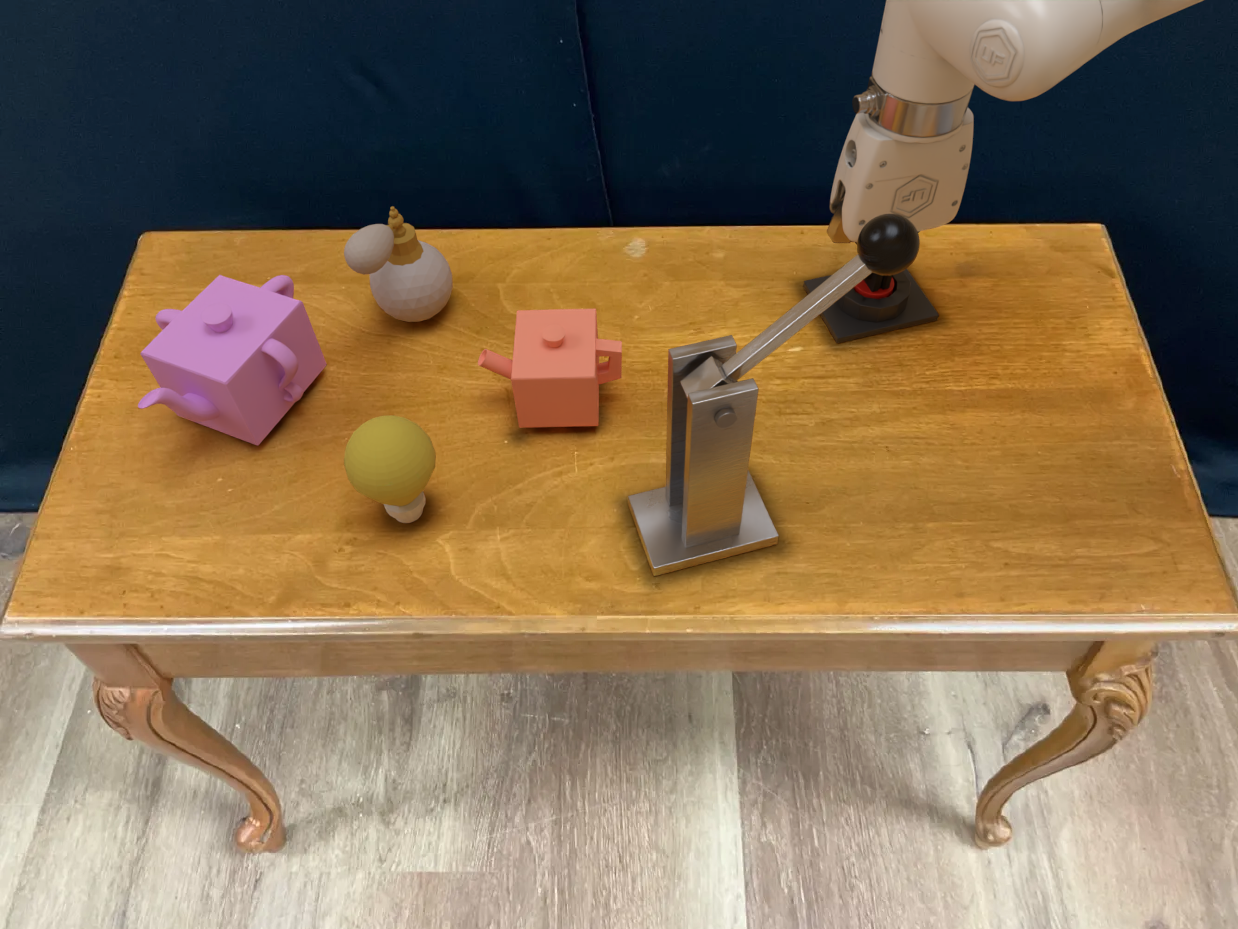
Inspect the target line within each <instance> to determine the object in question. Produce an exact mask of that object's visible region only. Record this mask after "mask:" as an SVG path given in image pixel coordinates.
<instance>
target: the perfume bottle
mask: <svg viewBox="0 0 1238 929" xmlns="http://www.w3.org/2000/svg"><path fill="white" fill-rule="evenodd" d="M388 215H389V217H388V220H387V224H383V223H375V224H369V225H367V226H364V227H361V228H360V229H359V230H357V231H355V232H354V233H352V235H351V236H350V237H349V238H348V239H347V241H346V243H345V246H344V249H343V256H344V260H345V263H346V264H347V266H348V267H349V268H350V269H351V270H352V271H353V272H356V273H357V274H361V275H369V287H370V291H371V294H372V297H373V298H374V300H375V302H376V303H377V305H378V307H379V308H380V309H381V310H383V311H384V312H385V313H386V314H387V315H388V316H390V317H393V318H394V319H396V320H400V321H404V322H406V323H407V322H408V323H414V322H415V323H416V322H417V323H419V322H422V321H426V320H430V319H431V318H433V317H434V316H436V315H437V314H438V313H440V312H441V311H442V310H443V309H444V308H445V307H446V305H448V302H449V300H450V298H451V295H452V291H453V286H454V285H453V273H452V270H451V267H450V264H449V262H448V260H447V259H446V257H445V256H444V255H443V253H441V251H440V250H438V248H437V247H435V246H433V245H431V244H429V243H428V242H425V241H422V240H419V239H418V236H417V232H416V229H415V226H413V225H412V224H410V223H407V222H404V217H403V215H401V213H399V211H398V209H397V208H395V206H390V209H389V213H388Z"/></svg>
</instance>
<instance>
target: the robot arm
mask: <svg viewBox="0 0 1238 929" xmlns="http://www.w3.org/2000/svg"><path fill="white" fill-rule="evenodd" d="M1203 1H1205V0H885V4H884V5H885V6H884V10H883V15H882V20H881V25H880V31H879V36H878V41H877V45H876V51H875V55H874V61H873V65H872V71H871V75H870V76H869V77H868V83H867V87H866V90H865V91H863V92H862V93H860V94H856V95H854V96H853V97H852V100H851V101H852V103H851V104H852V106H851V107H852V110H853V112H854V114H855V117H854V118H853V121H852V123H851V125H850V128H849V130H848V133H847V136H846V139H845V141H844V144H843V146H842V150H841V153H840V156H839V159H838V163H837V165H836V166H837V167H836V171H835V174H834V178H833V183H832V186H831V187H832V188H831V193H830V199H829V211H830V213H832V214H833V215H832V217H831V220H830V221H829V224H828V227H827V229H826V234H827V236H828V237H829V238H830V240H831V242H832V243H833V244H851V243H855V245H857V241H858V237H859V234H860V232H861V230H862V229H863V227H864V226H865V225H866V224H867V223H868V222H869V221H870V220H871V219H873V218H875V217H877V216H879V215H882V214H898V215H901V216H903V217H905V218H907V219H908V220H910V221H911V222H912V223H913V225H914V226H915V227H916V229H917V231H918V234H919V233H920V232H922V231H926V230H932V229H935V228H939V227H943V226H945V225H947V224H949V223H950V222H951V221H953V220H954V219H955V217H956V216H957V214H958V211H959V209H960V206H961V203H962V200H963V196H964V192H965V188H966V184H967V179H968V174H969V169H970V164H971V159H972V151H973V141H974V139H973V138H974V125H975V124H974V121H975V120H974V118H975V116H974V113H973V111H972V110H971V109H970V108H969V104H970V101H971V97H972V94H973V90H974V88H975V86H976V87H977V88H979V89H980V90H981V91H983V92H984V93H986V94H988V95H990V96H992V97H995V98H996V99H999V100H1003V101H1007V102H1023V101H1027V100H1030V99H1033V98H1034V99H1035V98H1036V97H1038V96H1040V95H1043V94H1044V93H1045V92H1048V91H1049V90H1051V89H1052V88H1054V87H1055V86H1056V85H1057V84H1059V83H1061V82H1062V81H1063V80H1064V79H1066V78H1067V77H1068V76H1070V75H1071V74H1073V73H1074V72H1076V71H1077V70H1078V69H1080V68H1081V67H1082V66H1084V64H1086V63H1087V62H1089V61H1091V60H1092V59H1094V58H1095V57H1096V56H1097V55H1099V54H1100V53H1102V52H1103V51H1104V50H1106V49H1107V48H1109V47H1110V46H1112V45H1114V44H1115V43H1116V42H1118V41H1119V40H1120V39H1122V38H1125V36H1128V35H1129V34H1131V33H1133V32H1135V31H1137V30H1139V29H1141V28H1143V27H1145V26H1148V25H1150V24H1152V23H1154V22H1156V21H1159V20H1161V19H1163V18H1166V17H1169V16H1171V15H1172V14H1175V13H1177V12H1179V11H1182V10H1184V9H1187V8H1189V7H1191V6H1194V5H1196V4H1198V3H1202V2H1203ZM892 276H893V275H888V276H885V275H879V274H875V273H873V272H872V273H871V274H870V275H869V276H867V277H866V278H865V279H864V281H865V283H866V284H867V286H868V287H869V289H870V290H871V292H874V291H878V290H879V289H880V288H882V289H888V288H889V287H890V283H891V279H892Z"/></svg>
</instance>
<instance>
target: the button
mask: <svg viewBox="0 0 1238 929" xmlns="http://www.w3.org/2000/svg"><path fill="white" fill-rule="evenodd" d="M893 288H894V280H893V278H892V279H891V283H890V287H889V288H888V289H882V288H880V289H879V290H878V291H874V292H871V290H870V289H869V287H868V286H867V284H866V283H865V281H864V280H862V281H861V282H860V283H859V284H857V285H856V286H855V287H854V290H855V292H857V293H859V294H860V295H862V296H864V297H867V298H874V299H881V298H886V297H889V296H890V295H892V291H893Z"/></svg>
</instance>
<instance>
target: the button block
mask: <svg viewBox="0 0 1238 929" xmlns="http://www.w3.org/2000/svg"><path fill="white" fill-rule="evenodd" d="M832 275H833V274H829V275H825V276H820V277H815V278H811V279H806V280H804V281H803V284H802V287H803V289H804V290H805V292H806V294H807V295H808V294H810V293H811V292H812V291H813V290H814V289H816V288H817V287H818V286H819V285H821V284H822V283H823V282H824V281H826V280H827V279H828V278H829V277H830V276H832ZM892 278H893V280H894V288H893V291H892V295H890V296H889V297H886V298H881V299H874V298H867V297H864V296H862V295H860V294H859V293H857V292H855V290H854V288H852V289H851V290H850V291H849V292H847V293H846V294H845V295H843V296H842V297H841V298H840V299H838V300H837V301H836V302H835V303H833V304H832V305H831V306H830V307H828V308H827V309H826V310H825V311H823V312H822V313H821V314H820V315H819V316H820V317H821V319H822V322H823V323H824V324H825V326H826V327H827V329H828V331H829V332H830V334H831V336H832V338H833V339H834V341H835V343H836V344H841V343H845V342H849V341H854V340H857V339H861V338H866V337H870V336H876V335H879V334H884V333H887V332H892V331H897V330H901V329H905V328H910V327H915V326H918V325H924V324H927V323H931V322H935V321H938V320H939V317H940V314H939V312H938V311H937V309H936V308H935V306H933V304H932V302H931V301H930V299H929V298H928V297H927V296H926V293H925V292H924V291H923V290H922V288H921V287H920V285H919V284H918V282H917V281H916V280H915V278H914V276H913V275H912V274H911V272H910V271H909V269H908V268H907V269H905V270H904V271H902V272H900V273H898V274H895V275H893V276H892Z"/></svg>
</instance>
